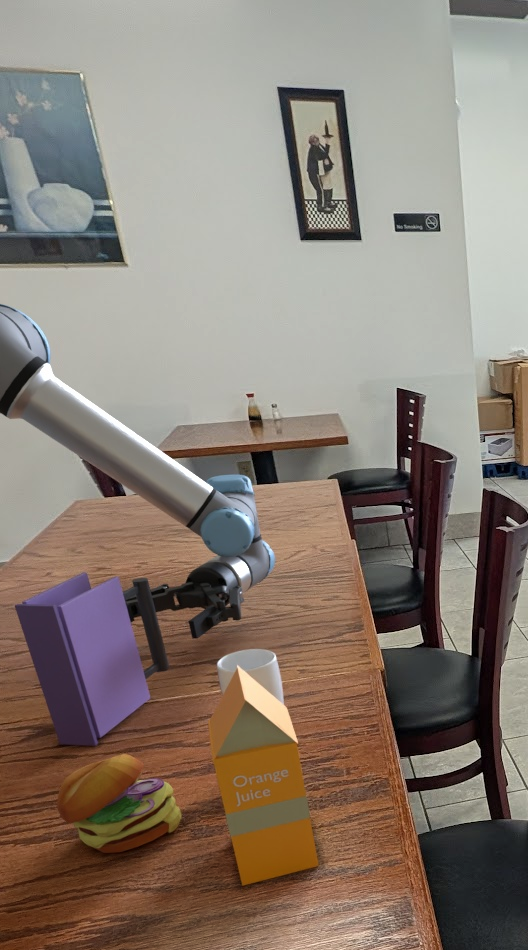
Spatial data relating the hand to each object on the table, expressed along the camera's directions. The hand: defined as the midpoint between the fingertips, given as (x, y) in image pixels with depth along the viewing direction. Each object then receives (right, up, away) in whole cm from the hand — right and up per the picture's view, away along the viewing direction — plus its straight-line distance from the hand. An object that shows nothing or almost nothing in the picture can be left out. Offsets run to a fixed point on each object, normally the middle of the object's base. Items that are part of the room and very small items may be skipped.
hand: (148, 628), depth 119 cm
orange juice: (+30, -26, -32) cm, 51 cm away
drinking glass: (+24, -19, -17) cm, 35 cm away
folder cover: (-1, -11, -2) cm, 12 cm away
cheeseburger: (+12, -25, -28) cm, 40 cm away
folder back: (-3, -13, -5) cm, 14 cm away
